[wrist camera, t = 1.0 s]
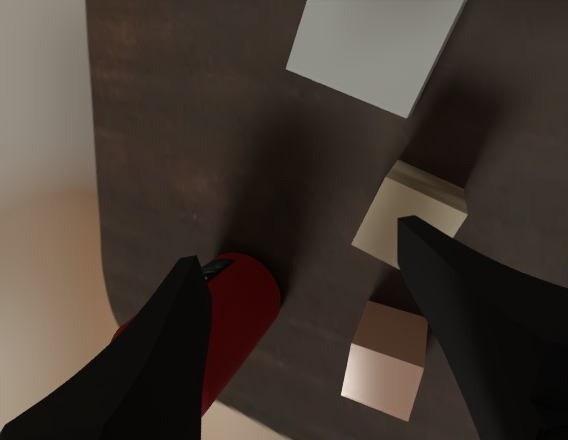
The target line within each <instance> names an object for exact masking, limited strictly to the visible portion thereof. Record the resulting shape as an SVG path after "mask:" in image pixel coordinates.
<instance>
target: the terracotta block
mask: <svg viewBox="0 0 568 440" xmlns="http://www.w3.org/2000/svg"><path fill="white" fill-rule="evenodd" d="M427 330H428V322H427V321H426V319H425V317H422V316H419V315H415V314H412V313H409V312H405V311H402V310H399V309H395V308H392V307H389V306H385V305H382V304H379V303H375V302H372V301H369V300H368V302H367V304H366V307H365V310H364V312H363V315H362V318H361V320H360V323H359V325H358V328H357V331H356V333H355V336H354V338H353V341H352V344H351V349H350V354H349V359H348V364H347V369H346V374H345V379H344V384H343V389H342V394H341V395H342V396H345V397H347V398H350V399H352V400H355V401H357V402H360V403H362V404H365V405H367V406H370V407H372V408H375V409H377V410H380V411H382V412H385V413H387V414H390V415H392V416H395V417H397V418H400V419H403V420H405V421H408V420H409V417H410V413H411V410H412V407H413V403H414V400H415V397H416V393H417V390H418V387H419V384H420V380H421V377H422V374H423V370H424V364H425V353H426V341H427Z"/></svg>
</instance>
